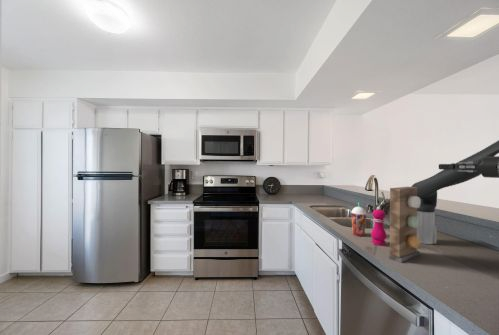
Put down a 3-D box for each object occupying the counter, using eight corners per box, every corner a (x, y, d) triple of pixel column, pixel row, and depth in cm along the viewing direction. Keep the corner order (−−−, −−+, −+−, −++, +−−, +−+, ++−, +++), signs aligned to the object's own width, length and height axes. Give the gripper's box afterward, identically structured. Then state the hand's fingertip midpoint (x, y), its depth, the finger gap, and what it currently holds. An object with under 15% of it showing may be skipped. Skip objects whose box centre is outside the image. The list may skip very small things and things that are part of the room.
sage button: (420, 227, 96) (420, 216, 96) (415, 229, 94) (415, 217, 94) (412, 225, 99) (412, 215, 99) (407, 227, 97) (407, 216, 97)
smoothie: (365, 237, 125) (365, 203, 125) (350, 235, 130) (350, 202, 130) (366, 234, 132) (366, 201, 132) (351, 231, 137) (351, 200, 137)
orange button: (420, 247, 97) (420, 236, 97) (414, 249, 94) (414, 238, 94) (412, 245, 99) (412, 234, 99) (407, 247, 97) (407, 236, 97)
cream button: (420, 207, 96) (420, 196, 96) (415, 208, 94) (415, 197, 94) (412, 206, 99) (412, 195, 99) (407, 207, 97) (407, 196, 97)
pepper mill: (388, 246, 112) (389, 208, 112) (373, 245, 113) (374, 207, 113) (383, 241, 119) (383, 205, 119) (369, 240, 121) (369, 205, 120)
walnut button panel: (419, 254, 102) (420, 187, 102) (401, 262, 93) (401, 189, 93) (407, 251, 106) (408, 186, 106) (389, 258, 98) (389, 188, 97)
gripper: (508, 156, 77) (446, 157, 92) (497, 155, 70) (432, 157, 85) (508, 177, 77) (445, 175, 92) (497, 178, 70) (432, 176, 85)
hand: (439, 166), depth 89 cm, fingers closed
